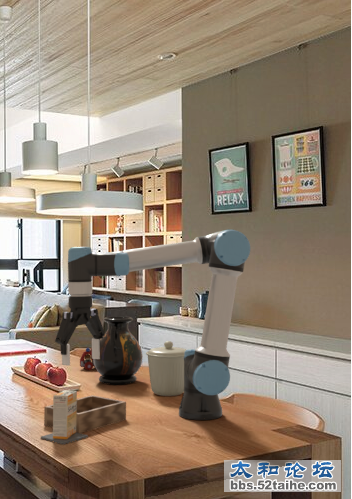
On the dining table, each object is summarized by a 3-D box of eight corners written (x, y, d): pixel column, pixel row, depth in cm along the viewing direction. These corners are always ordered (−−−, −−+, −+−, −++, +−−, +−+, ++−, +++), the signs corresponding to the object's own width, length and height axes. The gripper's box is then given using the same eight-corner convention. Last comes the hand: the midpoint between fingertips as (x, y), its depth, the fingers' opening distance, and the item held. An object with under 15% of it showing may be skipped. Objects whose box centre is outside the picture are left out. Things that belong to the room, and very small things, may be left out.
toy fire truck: (78, 368, 318) (78, 347, 318) (103, 367, 322) (103, 345, 322) (81, 370, 311) (81, 349, 311) (106, 369, 315) (106, 347, 315)
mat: (87, 437, 199) (87, 435, 199) (63, 444, 191) (63, 442, 191) (65, 431, 205) (65, 429, 205) (40, 438, 197) (40, 436, 197)
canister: (200, 393, 261) (200, 341, 261) (167, 400, 249) (167, 345, 249) (169, 387, 274) (169, 337, 274) (136, 393, 262) (136, 340, 262)
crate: (92, 412, 230) (92, 395, 230) (125, 419, 220) (126, 401, 220) (44, 425, 213) (44, 406, 213) (78, 433, 203) (78, 414, 203)
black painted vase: (136, 387, 273) (136, 320, 273) (86, 385, 276) (87, 319, 276) (147, 378, 294) (147, 315, 294) (100, 376, 297) (101, 314, 297)
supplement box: (67, 440, 194) (67, 395, 194) (52, 438, 195) (52, 395, 195) (77, 432, 202) (77, 390, 202) (62, 431, 203) (62, 389, 203)
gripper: (98, 292, 220) (99, 355, 220) (42, 297, 200) (43, 366, 200) (114, 293, 216) (115, 357, 216) (60, 298, 195) (61, 369, 195)
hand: (81, 362), depth 208 cm, fingers open, 13 cm apart
